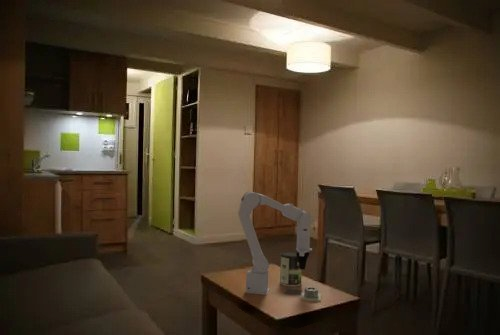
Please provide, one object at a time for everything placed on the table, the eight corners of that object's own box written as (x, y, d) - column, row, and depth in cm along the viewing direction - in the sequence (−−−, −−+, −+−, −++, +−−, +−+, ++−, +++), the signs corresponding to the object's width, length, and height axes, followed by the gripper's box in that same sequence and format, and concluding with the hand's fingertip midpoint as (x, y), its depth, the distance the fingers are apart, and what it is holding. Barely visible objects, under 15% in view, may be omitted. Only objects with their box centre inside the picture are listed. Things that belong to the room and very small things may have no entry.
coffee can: (303, 282, 183) (304, 252, 183) (298, 288, 174) (299, 257, 174) (283, 279, 187) (284, 250, 187) (276, 284, 178) (277, 254, 178)
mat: (284, 294, 165) (284, 293, 165) (286, 289, 171) (286, 288, 171) (300, 295, 163) (300, 295, 163) (301, 290, 170) (301, 290, 170)
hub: (300, 300, 158) (301, 291, 158) (302, 294, 165) (302, 286, 165) (320, 302, 156) (320, 293, 156) (320, 296, 164) (321, 287, 164)
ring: (304, 297, 158) (304, 290, 158) (304, 293, 164) (304, 286, 164) (317, 298, 157) (317, 291, 157) (318, 294, 163) (318, 287, 163)
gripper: (311, 242, 162) (310, 274, 162) (313, 236, 176) (312, 265, 176) (294, 240, 163) (294, 272, 163) (297, 235, 177) (296, 264, 177)
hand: (302, 268), depth 169 cm, fingers closed
